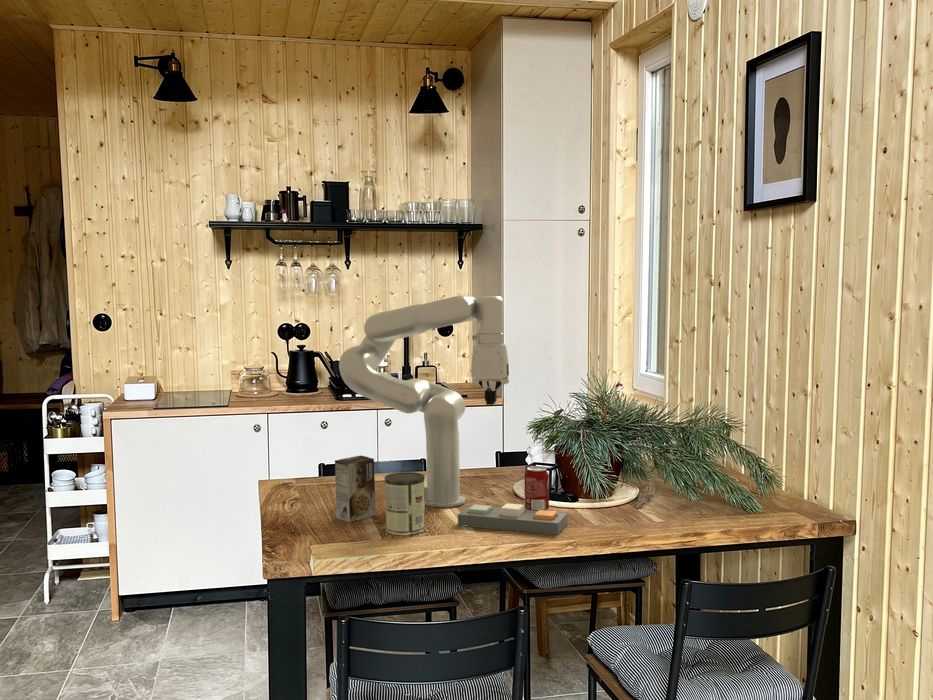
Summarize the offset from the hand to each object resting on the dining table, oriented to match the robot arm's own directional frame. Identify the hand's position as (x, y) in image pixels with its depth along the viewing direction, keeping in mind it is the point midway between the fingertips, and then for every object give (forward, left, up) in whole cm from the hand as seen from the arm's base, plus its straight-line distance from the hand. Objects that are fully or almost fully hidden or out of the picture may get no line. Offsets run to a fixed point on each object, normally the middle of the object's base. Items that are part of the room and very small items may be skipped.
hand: (490, 404), depth 251 cm
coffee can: (-13, -31, -29) cm, 45 cm away
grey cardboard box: (-31, -24, -29) cm, 49 cm away
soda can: (+14, -2, -29) cm, 33 cm away
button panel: (+12, -18, -29) cm, 36 cm away
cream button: (+12, -18, -27) cm, 34 cm away
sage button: (+3, -18, -28) cm, 33 cm away
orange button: (+21, -18, -28) cm, 39 cm away
